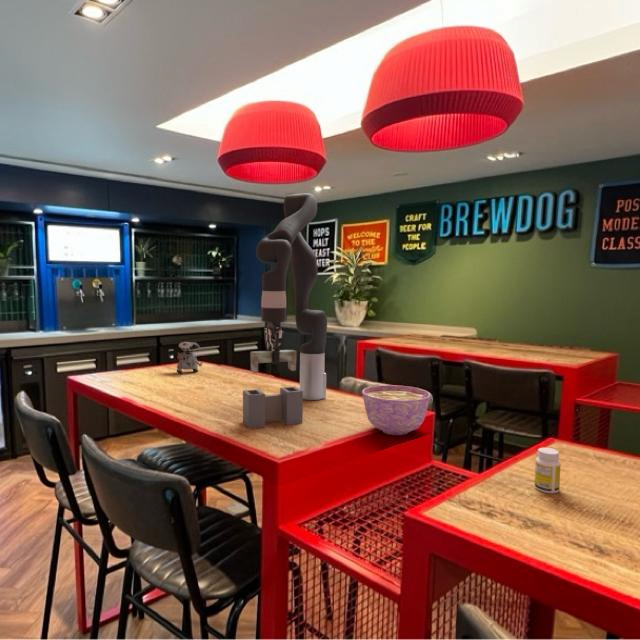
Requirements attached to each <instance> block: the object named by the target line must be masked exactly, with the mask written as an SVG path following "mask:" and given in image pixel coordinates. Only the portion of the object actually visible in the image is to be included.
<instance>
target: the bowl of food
mask: <svg viewBox="0 0 640 640" xmlns="http://www.w3.org/2000/svg"><path fill="white" fill-rule="evenodd" d="M361 393H362V399H363V403H364V408H365V413H366V417H367V420H368V421H369V424H371V425H372V426H373V427H375V428H376V429H377V430H380V431H381V430H382V431H383V432H382V431H381V432H382V433H384V434H387V435H392V436H403V435H407V434H409V433H410V432H412V431H415V430H417V429H419V428H420V426H421V425H422V424H423V422H424V420H425V418H426V415H427V411H428V408H429V403H430V400H431V395H432V394H431V393H430V392H429V391H427V390H425V389H422V388H419V387H414V386H408V385H407V386H405V385H397V384H395V385H393V384H385V385H380V384H378V385H372V386H368V387H365V388H363V389H362V391H361Z"/></svg>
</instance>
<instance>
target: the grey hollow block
mask: <svg viewBox="0 0 640 640" xmlns="http://www.w3.org/2000/svg"><path fill="white" fill-rule="evenodd" d="M279 389H280V390H279V393H275V394H266V393H264V392H263V391H262V390H260V389H259V388H258V389H256V388H255V389H246V390H245V389H244V390H242V423H243V424H244V426H246V428H247V429H248V430H249V429H250V430H251V429H260V428H261V429H262V428H265V427H266V423H268V422H277V421H280V422H281V421H282V422H283V423H284V424H286V426H287V425H298V424H303V408H304V407H303V403H304V402H303V401H304V399H303V391H302V390H300V388H299V387H296V386H284V387H282V386H281V387H279Z"/></svg>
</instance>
